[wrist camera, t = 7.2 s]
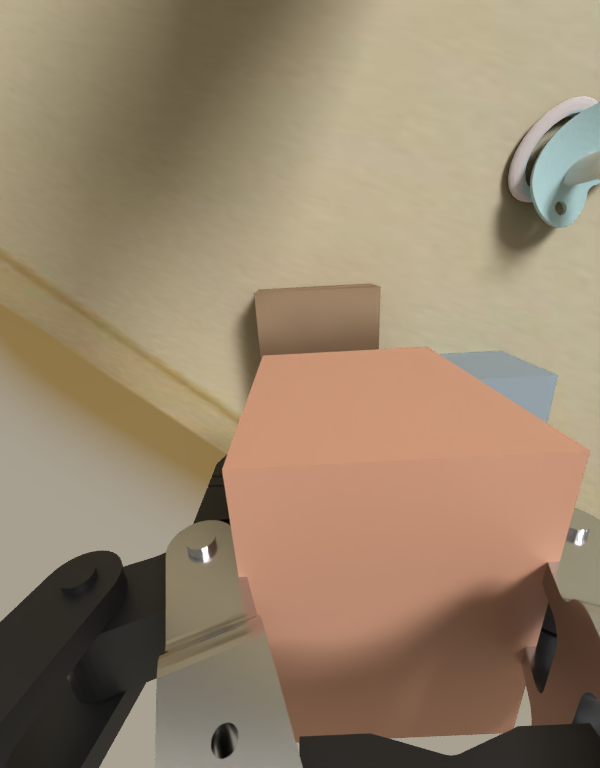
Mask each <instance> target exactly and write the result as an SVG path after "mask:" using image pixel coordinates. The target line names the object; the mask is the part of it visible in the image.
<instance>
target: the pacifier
mask: <svg viewBox="0 0 600 768" xmlns="http://www.w3.org/2000/svg"><path fill="white" fill-rule="evenodd" d="M570 116H575V117H574V118H572V119H571V120H569V121H568V122H567V123H566V124H565V125H563V126H562V127H561V128H560V129H559V130H558V131H557V132H556V133H555V134H554V135H553V136H552V137H551V139H550V140H549V141H548V142H547V143H546V145H545V146H544V147H543V149H542V151H541V152H540V154H539V156H538V158H537V159H536V162H535V164H534V167H533V170H532V174H531V179H530V186H528V184H527V182H526V180H525V170H526V165H527V162H528V159H529V157H530V154H531V152H532V151H533V149H534V147H535V146H536V144H537V143H538V141H539V140H540V139H541V138H542V136H543V135H544V134H545V133H546V132H547V131H548V130H549V129H550V128H551V127H552V126H553V125H554V124H556V123H557V122H558V121H560V120H561V119H563V118H566V117H570ZM508 184H509V189H510V191H511V193H512V195H513V197H515V198H516V199H518V200H519V201H523V202H533V204H534V207H535V209H536V211H537V213H538V214H539V216H540V217H541V219H542V220H543V221H544V222H545V223H547V224H548V225H549V226H551V227H556V228H558V227H566V226H568V225H570V224H572V223H573V222H574V221H575V219H576V218H577V217H578V216H579V214H580V212H581V211H582V208H583V206H584V204H585V201H586V198H587V192H588V191H589V189H590V188H591V187H592V186H594V185H597V184H600V102H597V101H596V100H595V99H594V98H590V97H585V96H580V97H575V98H571V99H568V100H566V101H564V102H562V103H560V104H558V105H557V106H555V107H554V108H552V109H551V110H550V111H548V112H547V113H545V114H544V115H543V116H542V117H541V118H540V119H539V120H538V121H537V122H536V123H535V124H534V125H533V127H532V128H531V129H530V130H529V132H528V133H527V134H526V136H525V137H524V138H523V140H522V141H521V143H520V145H519V147H518V148H517V150H516V152H515V154H514V157H513V159H512V162H511V165H510V169H509V175H508ZM557 202H560V203H561V204H562V206H563V212H562V214H561V215H559V214H557V212H556V210H555V205H556V203H557Z"/></svg>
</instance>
